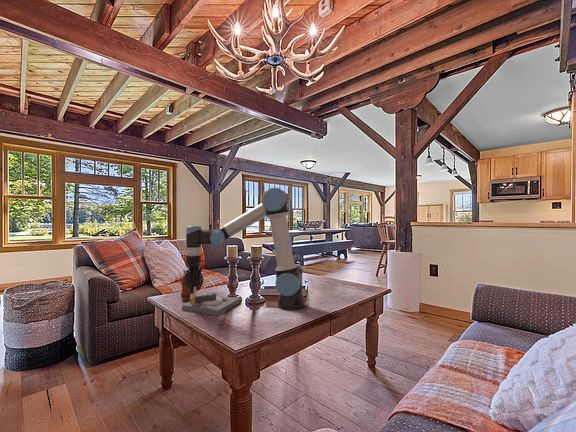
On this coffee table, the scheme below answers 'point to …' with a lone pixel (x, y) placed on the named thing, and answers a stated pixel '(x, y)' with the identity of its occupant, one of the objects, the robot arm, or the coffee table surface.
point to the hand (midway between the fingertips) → (193, 298)
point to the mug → (186, 290)
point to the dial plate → (198, 307)
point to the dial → (207, 300)
